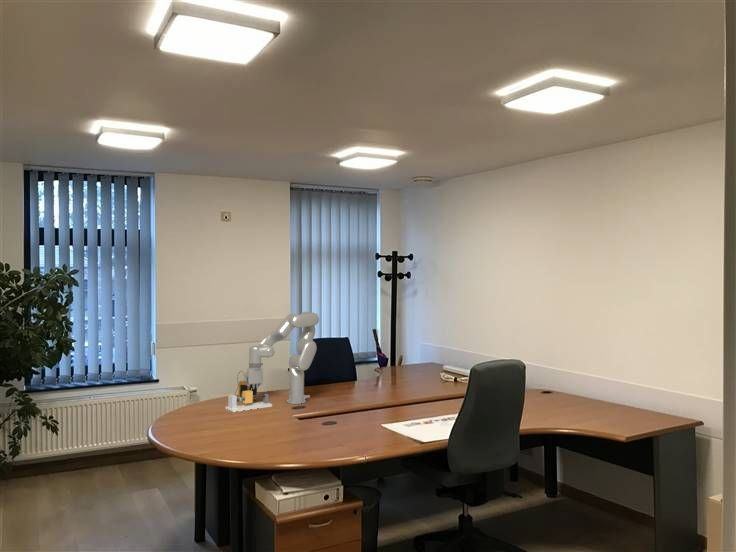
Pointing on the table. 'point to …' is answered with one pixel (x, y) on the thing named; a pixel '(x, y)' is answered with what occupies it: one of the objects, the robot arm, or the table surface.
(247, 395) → the sleeve
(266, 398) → the board
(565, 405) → the table surface
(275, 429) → the table surface
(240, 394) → the multimeter
